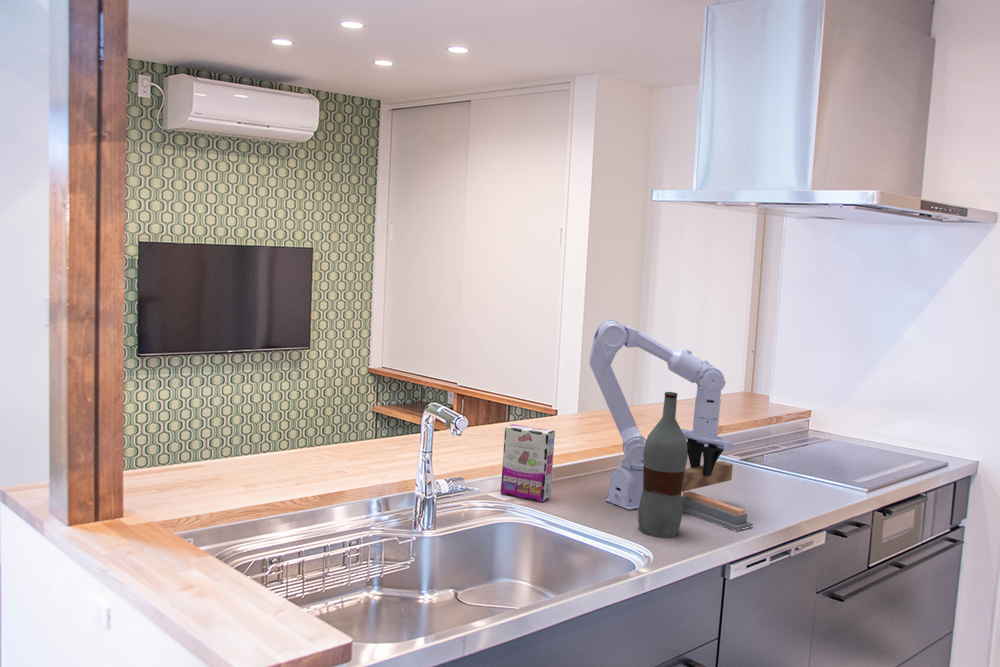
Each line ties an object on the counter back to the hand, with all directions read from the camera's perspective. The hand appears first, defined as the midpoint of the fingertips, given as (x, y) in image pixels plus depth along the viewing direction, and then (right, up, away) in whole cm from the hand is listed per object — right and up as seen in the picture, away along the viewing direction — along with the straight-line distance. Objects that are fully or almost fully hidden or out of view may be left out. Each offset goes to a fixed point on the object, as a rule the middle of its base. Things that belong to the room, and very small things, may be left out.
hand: (700, 473), depth 195 cm
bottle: (-14, -9, -18) cm, 24 cm away
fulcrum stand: (+1, -9, -6) cm, 11 cm away
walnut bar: (0, -3, 0) cm, 3 cm away
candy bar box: (-42, -6, +1) cm, 42 cm away
